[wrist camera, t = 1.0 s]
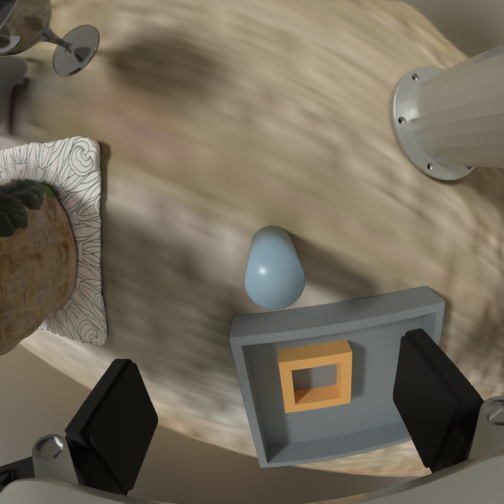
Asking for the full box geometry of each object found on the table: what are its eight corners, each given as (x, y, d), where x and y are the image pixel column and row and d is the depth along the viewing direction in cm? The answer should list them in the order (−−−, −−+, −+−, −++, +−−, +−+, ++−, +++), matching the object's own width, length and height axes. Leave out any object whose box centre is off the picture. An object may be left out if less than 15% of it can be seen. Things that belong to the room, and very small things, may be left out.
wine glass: (86, 81, 26) (-7, 47, 11) (42, 78, 25) (-45, 55, 11) (112, 21, 24) (39, -36, 9) (65, 23, 23) (-8, -18, 9)
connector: (289, 223, 29) (301, 248, 19) (294, 262, 30) (307, 305, 20) (248, 229, 29) (240, 257, 20) (254, 268, 30) (249, 312, 21)
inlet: (346, 339, 31) (352, 351, 28) (345, 389, 33) (350, 402, 30) (277, 349, 31) (278, 362, 29) (284, 399, 33) (285, 413, 31)
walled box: (426, 285, 30) (445, 301, 26) (406, 418, 35) (415, 438, 31) (233, 316, 32) (228, 337, 27) (261, 444, 37) (260, 467, 33)
